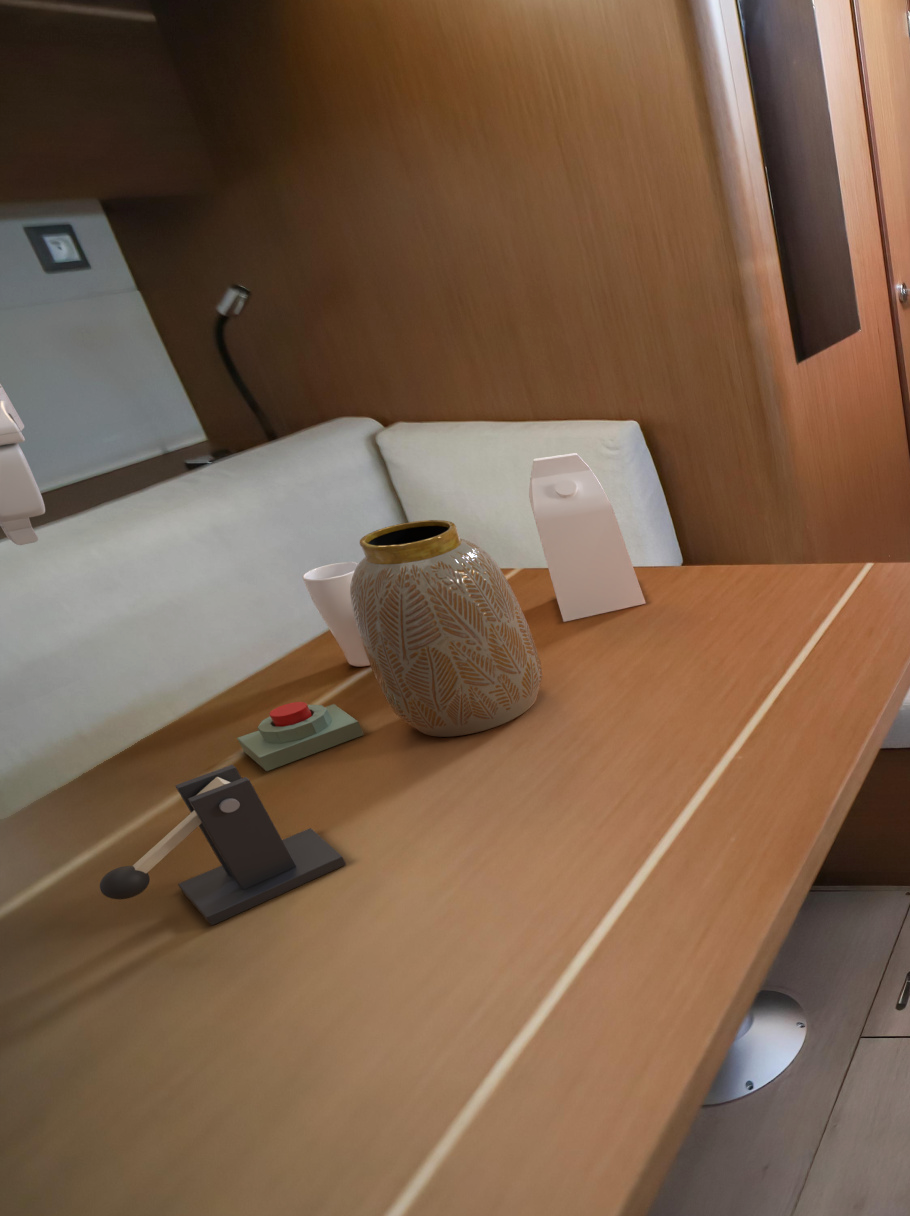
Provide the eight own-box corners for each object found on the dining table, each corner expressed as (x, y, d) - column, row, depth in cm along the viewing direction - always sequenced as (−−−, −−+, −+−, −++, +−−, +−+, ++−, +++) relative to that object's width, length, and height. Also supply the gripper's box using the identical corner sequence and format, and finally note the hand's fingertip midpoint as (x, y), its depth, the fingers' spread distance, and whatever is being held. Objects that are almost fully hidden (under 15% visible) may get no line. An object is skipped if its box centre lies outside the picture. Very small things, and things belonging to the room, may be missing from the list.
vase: (570, 674, 143) (513, 505, 131) (524, 736, 128) (455, 552, 117) (437, 687, 139) (365, 514, 127) (373, 753, 124) (285, 564, 112)
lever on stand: (211, 926, 97) (150, 826, 91) (182, 892, 101) (122, 795, 96) (346, 864, 106) (298, 769, 100) (314, 835, 110) (266, 743, 104)
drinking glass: (397, 663, 145) (358, 574, 139) (339, 674, 142) (296, 583, 135) (403, 645, 150) (366, 558, 144) (347, 655, 147) (306, 567, 140)
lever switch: (132, 909, 94) (94, 897, 91) (122, 896, 95) (85, 885, 93) (254, 796, 100) (221, 783, 97) (243, 786, 101) (210, 772, 99)
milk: (634, 581, 173) (593, 442, 162) (645, 603, 165) (603, 459, 154) (556, 598, 167) (507, 454, 155) (563, 621, 159) (513, 472, 147)
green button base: (266, 771, 120) (252, 745, 119) (244, 751, 124) (230, 726, 122) (364, 734, 128) (352, 709, 126) (340, 717, 132) (328, 692, 130)
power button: (280, 730, 122) (275, 719, 122) (270, 722, 124) (264, 711, 123) (316, 718, 125) (311, 706, 124) (306, 710, 127) (300, 698, 126)
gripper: (-114, 411, 103) (-40, 530, 109) (-76, 442, 94) (3, 570, 100) (-24, 400, 108) (42, 514, 114) (22, 428, 99) (91, 551, 105)
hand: (25, 541), depth 107 cm, fingers closed
